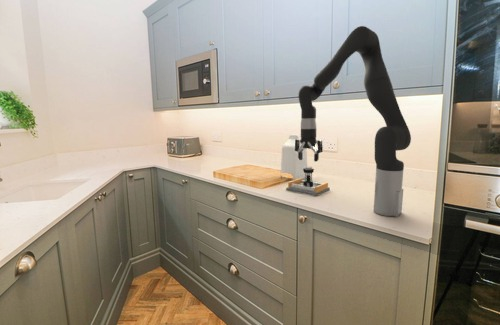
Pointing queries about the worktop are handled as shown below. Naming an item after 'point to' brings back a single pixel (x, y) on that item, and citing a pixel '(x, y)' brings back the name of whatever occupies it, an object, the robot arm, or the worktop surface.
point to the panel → (318, 191)
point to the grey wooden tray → (306, 188)
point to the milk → (293, 159)
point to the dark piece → (308, 177)
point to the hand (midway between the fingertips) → (308, 160)
